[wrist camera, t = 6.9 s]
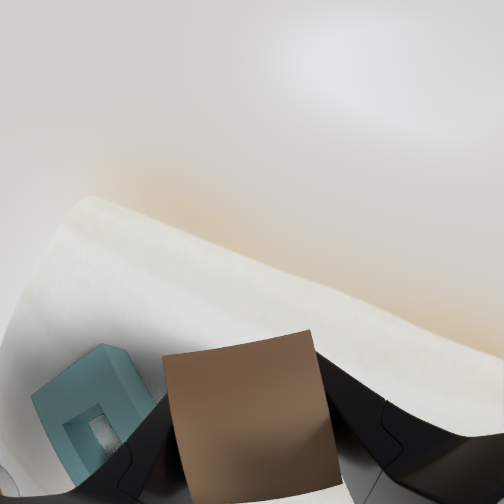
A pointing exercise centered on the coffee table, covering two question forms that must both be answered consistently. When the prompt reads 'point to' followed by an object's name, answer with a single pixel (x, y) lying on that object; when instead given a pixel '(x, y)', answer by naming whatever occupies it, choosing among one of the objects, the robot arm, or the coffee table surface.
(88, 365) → the teal square hole block
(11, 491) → the coffee cup
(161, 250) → the coffee table surface
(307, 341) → the square peg
